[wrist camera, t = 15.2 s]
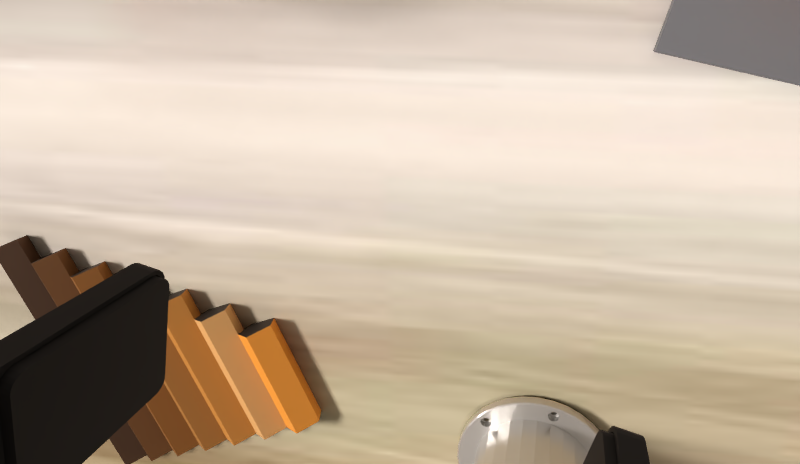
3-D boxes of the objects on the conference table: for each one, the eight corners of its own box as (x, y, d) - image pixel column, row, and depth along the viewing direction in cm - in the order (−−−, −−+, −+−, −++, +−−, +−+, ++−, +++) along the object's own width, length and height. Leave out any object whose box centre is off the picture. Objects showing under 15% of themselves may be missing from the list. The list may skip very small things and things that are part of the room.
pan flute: (12, 242, 56) (136, 445, 62) (-20, 255, 53) (114, 468, 59) (202, 157, 47) (328, 406, 53) (177, 167, 44) (313, 430, 49)
